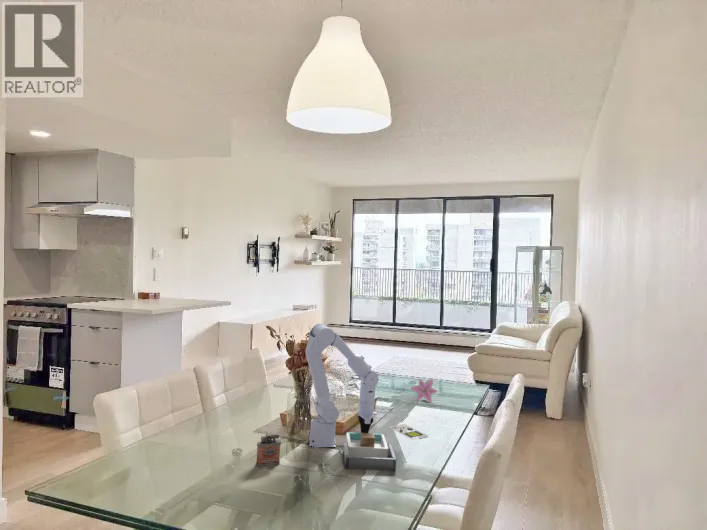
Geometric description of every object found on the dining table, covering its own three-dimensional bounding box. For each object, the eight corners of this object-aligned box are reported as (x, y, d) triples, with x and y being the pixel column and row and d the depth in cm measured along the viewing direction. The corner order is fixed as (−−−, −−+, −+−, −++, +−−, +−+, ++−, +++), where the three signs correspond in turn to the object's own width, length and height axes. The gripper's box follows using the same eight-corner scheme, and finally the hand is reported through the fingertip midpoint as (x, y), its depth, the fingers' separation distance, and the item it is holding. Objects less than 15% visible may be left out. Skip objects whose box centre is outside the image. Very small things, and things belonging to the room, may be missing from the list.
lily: (406, 398, 262) (408, 384, 257) (420, 386, 270) (422, 372, 265) (426, 411, 256) (428, 398, 251) (440, 398, 264) (442, 384, 258)
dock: (345, 469, 176) (346, 457, 176) (343, 451, 190) (343, 440, 190) (395, 471, 177) (396, 459, 177) (389, 453, 192) (390, 442, 191)
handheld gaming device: (404, 423, 223) (429, 435, 211) (404, 425, 223) (429, 437, 211) (388, 426, 218) (412, 439, 206) (387, 428, 218) (412, 441, 206)
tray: (347, 456, 185) (348, 447, 185) (345, 441, 199) (346, 432, 199) (387, 458, 186) (388, 448, 186) (382, 442, 200) (383, 433, 200)
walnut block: (361, 452, 187) (362, 437, 187) (360, 447, 192) (361, 432, 191) (373, 453, 188) (374, 438, 187) (372, 448, 192) (373, 433, 192)
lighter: (257, 468, 172) (259, 437, 172) (254, 463, 175) (256, 434, 175) (281, 464, 176) (283, 435, 175) (277, 460, 179) (279, 431, 178)
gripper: (379, 407, 194) (376, 443, 195) (375, 395, 208) (372, 429, 209) (360, 406, 193) (357, 443, 194) (357, 394, 208) (354, 428, 208)
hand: (364, 435), depth 201 cm, fingers closed
